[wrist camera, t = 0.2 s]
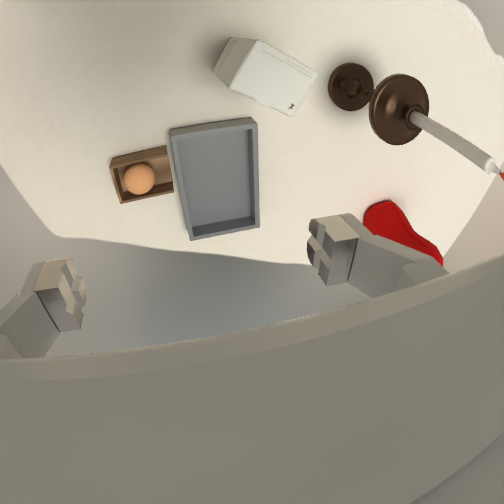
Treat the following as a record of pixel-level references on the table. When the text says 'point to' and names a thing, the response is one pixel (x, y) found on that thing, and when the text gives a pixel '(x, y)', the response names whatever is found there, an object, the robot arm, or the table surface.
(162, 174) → the small wooden box
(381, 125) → the candlestick
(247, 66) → the skincare box
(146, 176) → the ball
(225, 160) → the tray
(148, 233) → the table surface
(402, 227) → the water bottle
